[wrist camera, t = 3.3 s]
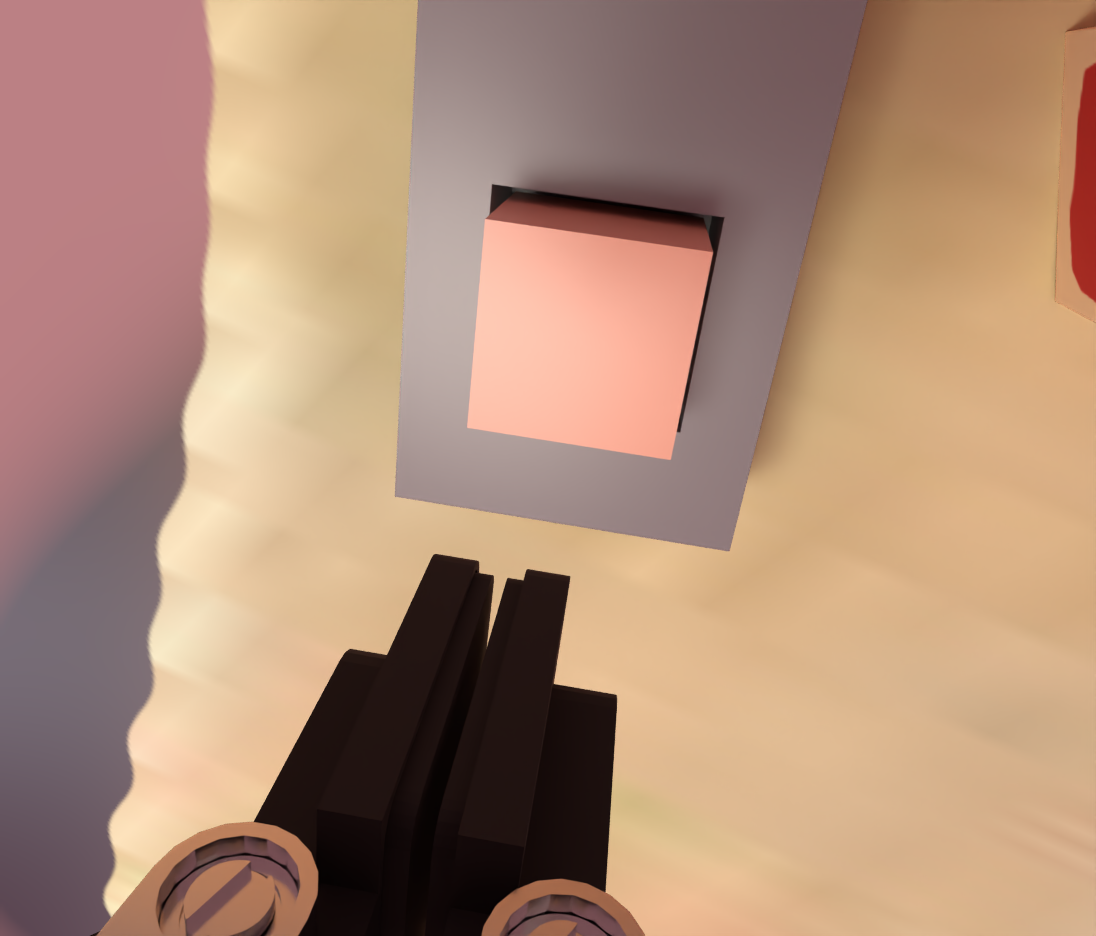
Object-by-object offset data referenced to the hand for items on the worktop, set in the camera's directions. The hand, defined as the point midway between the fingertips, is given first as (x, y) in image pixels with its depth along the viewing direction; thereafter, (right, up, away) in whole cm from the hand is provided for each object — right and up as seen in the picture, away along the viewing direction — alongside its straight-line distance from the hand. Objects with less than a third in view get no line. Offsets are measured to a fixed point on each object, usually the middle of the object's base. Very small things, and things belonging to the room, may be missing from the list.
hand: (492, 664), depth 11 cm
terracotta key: (+2, +8, +16) cm, 18 cm away
